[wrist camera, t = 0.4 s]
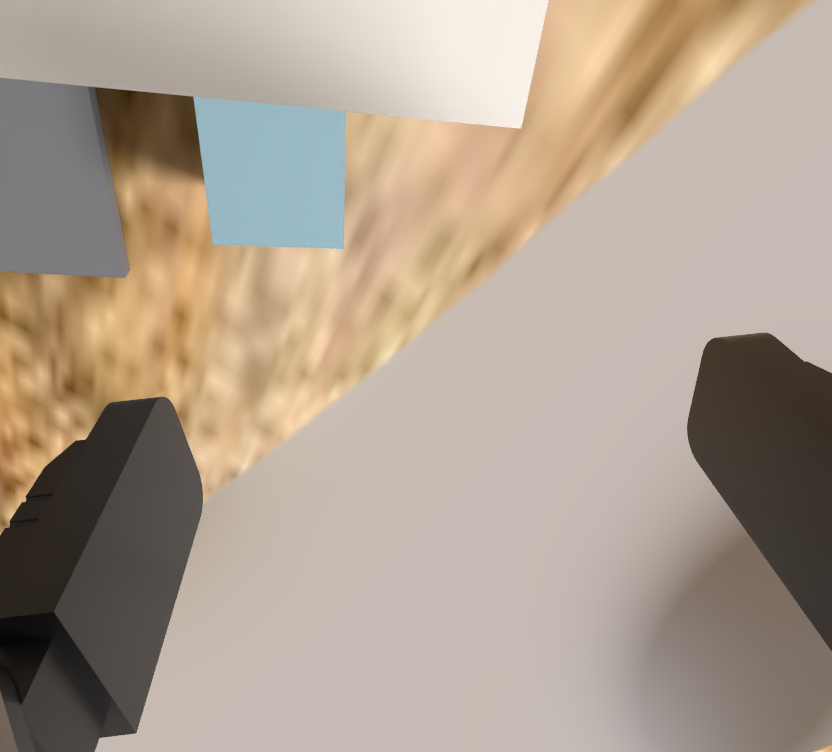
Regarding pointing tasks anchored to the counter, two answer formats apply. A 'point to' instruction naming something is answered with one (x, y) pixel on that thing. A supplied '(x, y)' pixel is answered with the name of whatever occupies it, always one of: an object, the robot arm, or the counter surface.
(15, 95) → the mat
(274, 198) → the block
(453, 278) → the counter surface
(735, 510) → the robot arm
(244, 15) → the white box
